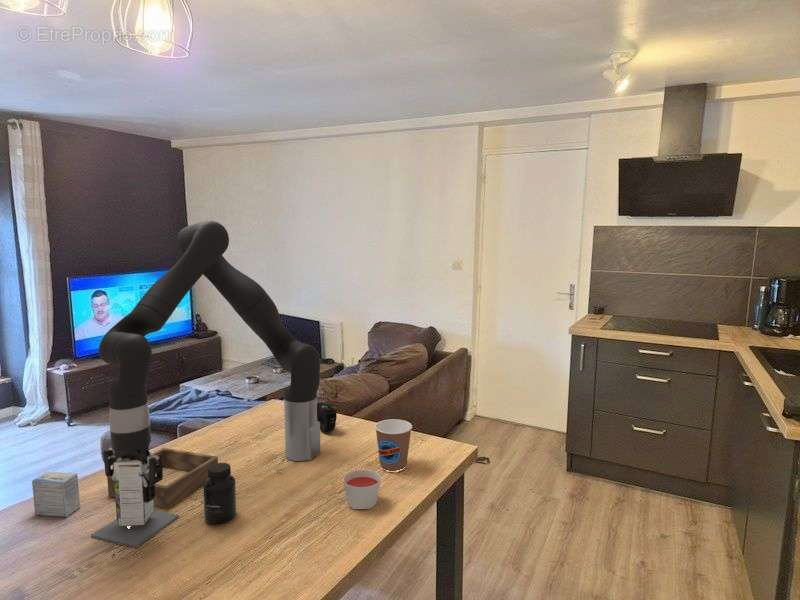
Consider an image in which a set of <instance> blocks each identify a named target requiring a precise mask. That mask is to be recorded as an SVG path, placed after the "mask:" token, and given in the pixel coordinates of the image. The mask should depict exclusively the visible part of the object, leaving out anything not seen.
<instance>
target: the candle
mask: <svg viewBox="0 0 800 600" xmlns="http://www.w3.org/2000/svg"><path fill="white" fill-rule="evenodd" d="M342 481H343V486H344V491H345V496H346V497H345V498H346V501H347V505H348V506H349V507H350V509H351V508H352V509H353V508H354V510H356V509H367V510H369V509H368V508H370V509H372V508H374V507H375V506H376V505H377V502H378V498H379V491H380V486H381V481H382V476H381V474H380V473H379V472H377V471H375V470H372V469H365V468H364V469H361V468H360V469H354V470H351V471H349V472H347V473H346V474H345V475H344V476H343V478H342ZM375 504H376V505H375ZM374 505H375V506H374ZM373 506H374V507H373ZM371 507H372V508H371Z"/></svg>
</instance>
